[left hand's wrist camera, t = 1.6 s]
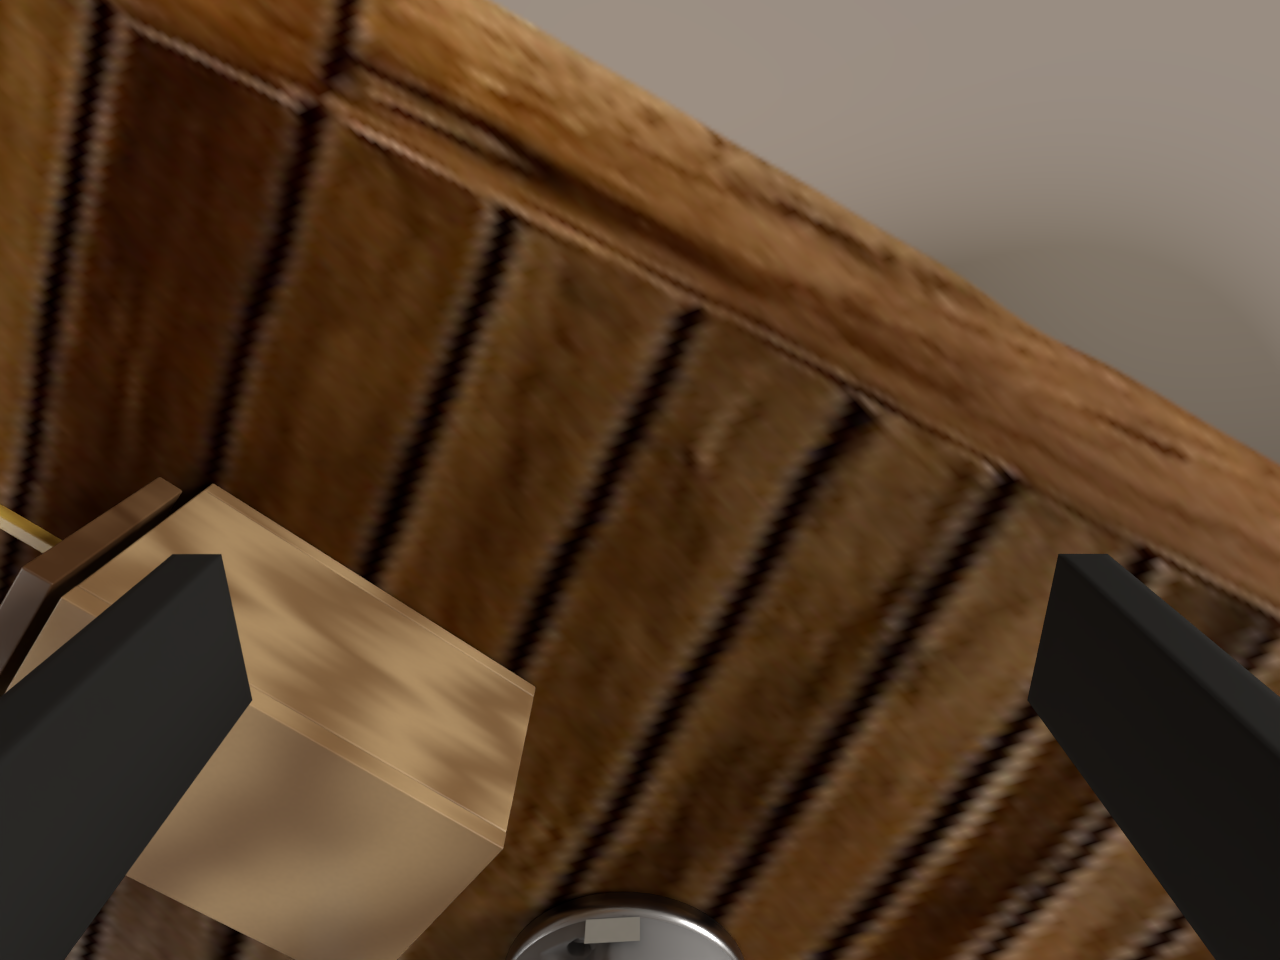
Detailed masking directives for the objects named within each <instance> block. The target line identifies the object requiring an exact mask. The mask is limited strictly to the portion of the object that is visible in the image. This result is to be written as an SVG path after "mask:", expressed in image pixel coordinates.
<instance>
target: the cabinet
mask: <svg viewBox="0 0 1280 960" xmlns="http://www.w3.org/2000/svg"><path fill="white" fill-rule="evenodd" d="M172 554H222V559H223V564H224V568H225V573H226V578H227V583H228V587H229V592H230V597H231V601H232V606H233V611H234V615H235V620H236V625H237V630H238V634H239V639H240V644H241V648H242V653H243V658H244V662H245V667H246V672H247V677H248V681H249V686H250V691H251V695H252V701H251V703H250V704H249V706H248V707H247V708H246V710H245V711H244V712H243V714H242V715H241V717H240V718H239V719H238V721H237V722H236V724H235V725H234V726H233V728H232V729H231V730H230V732H229V733H228V735H227V736H226V737H225V739H224V740H223V741H222V743H221V744H220V746H219V747H218V748H217V750H216V751H215V752H214V754H213V755H212V757H211V758H210V759H209V761H208V762H207V764H206V765H205V766H204V768H203V769H202V770H201V772H200V773H199V775H198V776H197V777H196V779H195V780H194V781H193V783H192V784H191V786H190V787H189V788H188V790H187V791H186V792H185V794H184V795H183V797H182V798H181V799H180V801H179V802H178V803H177V805H176V806H175V808H174V809H173V810H172V812H171V813H170V815H169V816H168V817H167V819H166V820H165V821H164V823H163V824H162V826H161V827H160V828H159V830H158V831H157V832H156V834H155V835H154V837H153V838H152V839H151V841H150V842H149V843H148V845H147V846H146V848H145V849H144V850H143V852H142V853H141V855H140V856H139V857H138V859H137V860H136V861H135V863H134V864H133V866H132V867H131V868H130V870H129V871H128V872H127V874H126V876H128V877H130V878H132V879H134V880H136V881H138V882H140V883H142V884H144V885H146V886H148V887H150V888H152V889H154V890H156V891H158V892H160V893H162V894H164V895H166V896H168V897H170V898H172V899H174V900H176V901H178V902H180V903H182V904H184V905H186V906H188V907H190V908H192V909H194V910H196V911H198V912H200V913H202V914H204V915H206V916H208V917H210V918H212V919H214V920H216V921H218V922H221V923H223V924H225V925H227V926H229V927H231V928H233V929H235V930H237V931H239V932H241V933H243V934H245V935H247V936H249V937H251V938H253V939H255V940H257V941H259V942H261V943H263V944H265V945H267V946H269V947H271V948H273V949H275V950H277V951H279V952H281V953H283V954H285V955H287V956H289V957H291V958H293V959H295V960H397V959H398V958H399V957H400V956H401V955H402V954H403V953H404V952H405V951H406V950H407V949H408V947H409V946H410V945H411V944H412V943H413V942H414V941H415V940H416V939H417V938H418V937H419V936H420V935H421V934H422V933H423V932H424V931H425V930H426V929H427V928H428V927H429V926H430V924H431V923H432V922H433V921H434V920H435V919H436V918H437V917H438V916H439V915H440V914H441V913H442V912H443V911H444V910H445V909H446V908H447V907H448V906H449V905H450V904H451V903H452V901H453V900H454V899H455V898H456V897H457V896H458V895H459V894H460V893H461V892H462V891H463V890H464V889H465V888H466V887H467V886H468V885H469V884H470V883H471V882H472V881H473V880H474V878H475V877H476V876H477V875H478V874H479V873H480V872H481V871H482V870H483V869H484V868H485V867H486V866H487V865H488V864H489V863H490V862H491V861H492V860H493V859H494V858H495V857H496V855H497V854H498V853H499V852H500V851H501V850H502V849H503V846H504V841H505V836H506V830H507V825H508V820H509V815H510V810H511V805H512V800H513V795H514V791H515V786H516V781H517V776H518V771H519V766H520V761H521V756H522V751H523V747H524V742H525V737H526V732H527V727H528V722H529V717H530V712H531V707H532V703H533V697H534V693H535V686H533V685H532V684H530V683H528V682H527V681H525V680H524V679H522V678H520V677H519V676H517V675H516V674H514V673H513V672H511V671H509V670H508V669H506V668H505V667H503V666H501V665H500V664H498V663H497V662H495V661H494V660H492V659H490V658H489V657H487V656H486V655H484V654H482V653H481V652H479V651H478V650H476V649H475V648H473V647H471V646H470V645H468V644H467V643H465V642H464V641H462V640H460V639H459V638H457V637H456V636H454V635H452V634H451V633H449V632H448V631H446V630H445V629H443V628H441V627H440V626H438V625H437V624H435V623H433V622H432V621H430V620H429V619H427V618H426V617H424V616H422V615H421V614H419V613H418V612H416V611H414V610H413V609H411V608H410V607H408V606H407V605H405V604H403V603H402V602H400V601H399V600H397V599H395V598H394V597H392V596H391V595H389V594H388V593H386V592H384V591H383V590H381V589H380V588H378V587H376V586H375V585H373V584H372V583H370V582H369V581H367V580H365V579H364V578H362V577H361V576H359V575H357V574H356V573H354V572H353V571H351V570H350V569H348V568H346V567H345V566H343V565H342V564H340V563H339V562H337V561H335V560H334V559H332V558H331V557H329V556H327V555H326V554H324V553H323V552H321V551H320V550H318V549H316V548H315V547H313V546H312V545H310V544H308V543H307V542H305V541H304V540H302V539H301V538H299V537H297V536H296V535H294V534H293V533H291V532H289V531H288V530H286V529H285V528H283V527H282V526H280V525H278V524H277V523H275V522H274V521H272V520H270V519H269V518H267V517H266V516H264V515H263V514H261V513H259V512H258V511H256V510H255V509H253V508H251V507H250V506H248V505H247V504H245V503H244V502H242V501H240V500H239V499H237V498H236V497H234V496H232V495H231V494H229V493H228V492H226V491H225V490H223V489H221V488H220V487H218V486H217V485H215V484H211V485H210V486H209V487H207V488H206V489H205V490H204V491H202V492H201V493H199V494H198V495H197V496H195V497H194V498H193V499H191V500H190V501H189V502H187V503H186V504H185V505H183V506H182V507H181V508H179V509H178V510H177V511H175V512H174V513H173V514H171V515H170V516H169V517H167V518H166V519H165V520H163V521H162V522H161V523H159V524H158V525H157V526H155V527H154V528H153V529H151V530H150V531H149V532H148V533H146V534H145V535H144V536H142V537H141V538H140V539H138V540H137V541H136V542H134V543H133V544H132V545H130V546H129V547H128V548H126V549H125V550H124V551H122V552H121V553H120V554H118V555H117V556H116V557H114V558H113V559H112V560H110V561H109V562H108V563H106V564H105V565H104V566H102V567H101V568H100V569H98V570H97V571H96V572H94V573H93V574H92V575H90V576H89V577H88V578H87V579H85V580H84V581H83V582H81V583H80V584H79V585H77V586H75V587H74V588H73V589H71V590H70V591H69V592H67V593H66V594H65V595H63V596H62V597H61V598H60V600H59V602H58V603H57V605H56V607H55V609H54V610H53V612H52V614H51V615H50V617H49V619H48V620H47V622H46V624H45V626H44V627H43V629H42V631H41V632H40V634H39V636H38V637H37V639H36V641H35V642H34V644H33V646H32V648H31V649H30V651H29V653H28V654H27V656H26V658H25V659H24V661H23V663H22V665H21V666H20V668H19V670H18V671H17V673H16V675H15V676H14V678H13V680H12V682H11V683H10V685H9V687H8V688H7V690H6V692H7V691H8V690H9V689H11V688H12V687H13V686H14V685H16V684H17V683H18V682H19V681H20V680H22V679H23V678H24V677H25V676H26V675H28V674H29V673H30V672H31V671H32V670H34V669H35V668H36V667H37V666H38V665H40V664H41V663H42V662H43V661H44V660H46V659H47V658H48V657H49V656H50V655H52V654H53V653H54V652H55V651H56V650H58V649H59V648H60V647H61V646H62V645H64V644H65V643H66V642H67V641H68V640H70V639H71V638H72V637H73V636H74V635H76V634H77V633H78V632H79V631H81V630H82V629H83V628H84V627H85V626H87V625H88V624H89V623H90V622H91V621H93V620H94V619H95V618H96V617H97V616H99V615H100V614H101V613H102V612H103V611H105V610H106V609H107V608H108V607H109V606H111V605H112V604H113V603H114V602H115V601H117V600H118V599H119V598H120V597H121V596H123V595H124V594H125V593H126V592H127V591H129V590H130V589H131V588H132V587H133V586H135V585H136V584H137V583H138V582H140V581H141V580H142V579H143V578H144V577H146V576H147V575H148V574H149V573H150V572H152V571H153V570H154V569H155V568H156V567H158V566H159V565H160V564H161V563H162V562H164V561H165V560H166V559H167V558H168V557H170V556H171V555H172ZM6 692H5V693H6ZM5 693H4V694H5Z"/></svg>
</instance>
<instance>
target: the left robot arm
mask: <svg viewBox="0 0 1280 960" xmlns="http://www.w3.org/2000/svg"><path fill="white" fill-rule="evenodd" d="M251 701H252V695H251V691H250V686H249V681H248V677H247V672H246V667H245V662H244V658H243V653H242V648H241V644H240V639H239V634H238V630H237V625H236V620H235V615H234V611H233V606H232V601H231V597H230V592H229V587H228V583H227V578H226V573H225V568H224V564H223V559H222V554H172V555H171V556H170V557H168V558H167V559H166V560H165V561H164V562H162V563H161V564H160V565H159V566H158V567H156V568H155V569H154V570H153V571H152V572H150V573H149V574H148V575H147V576H146V577H144V578H143V579H142V580H141V581H140V582H138V583H137V584H136V585H135V586H133V587H132V588H131V589H130V590H129V591H127V592H126V593H125V594H124V595H123V596H121V597H120V598H119V599H118V600H117V601H115V602H114V603H113V604H112V605H111V606H109V607H108V608H107V609H106V610H105V611H103V612H102V613H101V614H100V615H99V616H97V617H96V618H95V619H94V620H93V621H91V622H90V623H89V624H88V625H87V626H85V627H84V628H83V629H82V630H81V631H79V632H78V633H77V634H76V635H74V636H73V637H72V638H71V639H70V640H68V641H67V642H66V643H65V644H64V645H62V646H61V647H60V648H59V649H58V650H56V651H55V652H54V653H53V654H52V655H50V656H49V657H48V658H47V659H46V660H44V661H43V662H42V663H41V664H40V665H38V666H37V667H36V668H35V669H34V670H32V671H31V672H30V673H29V674H28V675H26V676H25V677H24V678H23V679H22V680H20V681H19V682H18V683H17V684H16V685H14V686H13V687H12V688H11V689H9V690H8V691H7V692H6V693H5V694H3V695H2V696H1V697H0V960H64V959H65V958H66V957H67V955H68V954H69V952H70V951H71V950H72V948H73V947H74V946H75V944H76V943H77V941H78V940H79V939H80V937H81V936H82V934H83V933H84V932H85V930H86V929H87V928H88V926H89V925H90V923H91V922H92V921H93V919H94V918H95V917H96V915H97V914H98V912H99V911H100V910H101V908H102V907H103V906H104V904H105V903H106V901H107V900H108V899H109V897H110V896H111V895H112V893H113V892H114V890H115V889H116V888H117V886H118V885H119V883H120V882H121V881H122V879H123V878H124V877H125V875H126V874H127V872H128V871H129V870H130V868H131V867H132V866H133V864H134V863H135V861H136V860H137V859H138V857H139V856H140V855H141V853H142V852H143V850H144V849H145V848H146V846H147V845H148V843H149V842H150V841H151V839H152V838H153V837H154V835H155V834H156V832H157V831H158V830H159V828H160V827H161V826H162V824H163V823H164V821H165V820H166V819H167V817H168V816H169V815H170V813H171V812H172V810H173V809H174V808H175V806H176V805H177V803H178V802H179V801H180V799H181V798H182V797H183V795H184V794H185V792H186V791H187V790H188V788H189V787H190V786H191V784H192V783H193V781H194V780H195V779H196V777H197V776H198V775H199V773H200V772H201V770H202V769H203V768H204V766H205V765H206V764H207V762H208V761H209V759H210V758H211V757H212V755H213V754H214V752H215V751H216V750H217V748H218V747H219V746H220V744H221V743H222V741H223V740H224V739H225V737H226V736H227V735H228V733H229V732H230V730H231V729H232V728H233V726H234V725H235V724H236V722H237V721H238V719H239V718H240V717H241V715H242V714H243V712H244V711H245V710H246V708H247V707H248V706H249V704H250V703H251ZM1028 701H1029V703H1030V704H1031V706H1032V707H1033V708H1034V710H1035V711H1036V712H1037V714H1038V715H1039V717H1040V718H1041V719H1042V721H1043V722H1044V724H1045V725H1046V726H1047V728H1048V729H1049V730H1050V732H1051V733H1052V735H1053V736H1054V737H1055V739H1056V740H1057V741H1058V743H1059V744H1060V746H1061V747H1062V748H1063V750H1064V751H1065V752H1066V754H1067V755H1068V757H1069V758H1070V759H1071V761H1072V762H1073V764H1074V765H1075V766H1076V768H1077V769H1078V770H1079V772H1080V773H1081V775H1082V776H1083V777H1084V779H1085V780H1086V781H1087V783H1088V784H1089V786H1090V787H1091V788H1092V790H1093V791H1094V792H1095V794H1096V795H1097V797H1098V798H1099V799H1100V801H1101V802H1102V803H1103V805H1104V806H1105V808H1106V809H1107V810H1108V812H1109V813H1110V815H1111V816H1112V817H1113V819H1114V820H1115V821H1116V823H1117V824H1118V826H1119V827H1120V828H1121V830H1122V831H1123V832H1124V834H1125V835H1126V837H1127V838H1128V839H1129V841H1130V842H1131V843H1132V845H1133V846H1134V848H1135V849H1136V850H1137V852H1138V853H1139V855H1140V856H1141V857H1142V859H1143V860H1144V861H1145V863H1146V864H1147V866H1148V867H1149V868H1150V870H1151V871H1152V872H1153V874H1154V875H1155V877H1156V878H1157V879H1158V881H1159V882H1160V883H1161V885H1162V886H1163V888H1164V889H1165V890H1166V892H1167V893H1168V895H1169V896H1170V897H1171V899H1172V900H1173V901H1174V903H1175V904H1176V906H1177V907H1178V908H1179V910H1180V911H1181V912H1182V914H1183V915H1184V917H1185V918H1186V919H1187V921H1188V922H1189V923H1190V925H1191V926H1192V928H1193V929H1194V930H1195V932H1196V933H1197V934H1198V936H1199V937H1200V939H1201V940H1202V941H1203V943H1204V944H1205V946H1206V947H1207V948H1208V950H1209V951H1210V952H1211V954H1212V955H1213V957H1214V958H1215V959H1216V960H1280V697H1279V696H1278V695H1277V694H1275V693H1274V692H1273V691H1272V690H1271V689H1269V688H1268V687H1267V686H1266V685H1264V684H1263V683H1262V682H1261V681H1260V680H1258V679H1257V678H1256V677H1255V676H1254V675H1252V674H1251V673H1250V672H1249V671H1248V670H1246V669H1245V668H1244V667H1243V666H1242V665H1240V664H1239V663H1238V662H1237V661H1236V660H1234V659H1233V658H1232V657H1231V656H1230V655H1228V654H1227V653H1226V652H1225V651H1224V650H1222V649H1221V648H1220V647H1219V646H1218V645H1216V644H1215V643H1214V642H1213V641H1212V640H1210V639H1209V638H1208V637H1207V636H1205V635H1204V634H1203V633H1202V632H1201V631H1199V630H1198V629H1197V628H1196V627H1195V626H1193V625H1192V624H1191V623H1190V622H1189V621H1187V620H1186V619H1185V618H1184V617H1183V616H1181V615H1180V614H1179V613H1178V612H1177V611H1175V610H1174V609H1173V608H1172V607H1171V606H1169V605H1168V604H1167V603H1166V602H1165V601H1163V600H1162V599H1161V598H1160V597H1159V596H1157V595H1156V594H1155V593H1154V592H1153V591H1151V590H1150V589H1149V588H1148V587H1147V586H1145V585H1144V584H1143V583H1142V582H1140V581H1139V580H1138V579H1137V578H1136V577H1134V576H1133V575H1132V574H1131V573H1130V572H1128V571H1127V570H1126V569H1125V568H1124V567H1122V566H1121V565H1120V564H1119V563H1118V562H1116V561H1115V560H1114V559H1113V558H1112V557H1110V556H1109V555H1108V554H1058V559H1057V564H1056V568H1055V573H1054V578H1053V583H1052V587H1051V592H1050V597H1049V601H1048V606H1047V611H1046V615H1045V620H1044V625H1043V630H1042V634H1041V639H1040V644H1039V648H1038V653H1037V658H1036V662H1035V667H1034V672H1033V677H1032V681H1031V686H1030V691H1029V695H1028ZM506 960H744V959H743V956H742V953H741V951H740V949H739V947H738V945H737V944H736V942H735V940H734V939H733V938H732V937H731V935H730V934H729V933H728V932H727V931H726V930H725V929H724V928H723V927H722V926H721V925H720V924H719V923H718V922H716V921H715V920H714V919H713V918H711V917H710V916H708V915H707V914H705V913H703V912H702V911H700V910H698V909H696V908H694V907H692V906H690V905H687V904H685V903H683V902H680V901H677V900H674V899H671V898H667V897H663V896H658V895H653V894H647V893H638V892H610V893H601V894H594V895H589V896H585V897H581V898H577V899H574V900H571V901H568V902H565V903H563V904H560V905H558V906H556V907H554V908H552V909H550V910H548V911H546V912H545V913H543V914H541V915H540V916H539V917H537V918H536V919H534V920H533V921H532V922H531V923H530V924H528V925H527V926H526V927H525V928H524V929H523V930H522V931H521V932H520V934H519V935H518V936H517V938H516V939H515V940H514V942H513V944H512V946H511V947H510V949H509V952H508V954H507V957H506Z"/></svg>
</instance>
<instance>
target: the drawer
mask: <svg viewBox="0 0 1280 960" xmlns="http://www.w3.org/2000/svg"><path fill="white" fill-rule="evenodd" d="M181 493H182V490H180V489H179V488H177V487H176V486H174V485H172V484H171V483H169V482H168V481H166V480H164V479H163V478H161V477H158V478H156V479H155V480H153V481H152V482H150V483H149V484H147V485H146V486H144V487H143V488H141V489H140V490H138V491H137V492H135V493H134V494H132V495H131V496H129V497H128V498H126V499H125V500H123V501H121V502H120V503H118V504H117V505H115V506H114V507H112V508H111V509H109V510H108V511H106V512H105V513H103V514H102V515H100V516H99V517H97V518H96V519H94V520H93V521H91V522H90V523H88V524H86V525H85V526H83V527H82V528H80V529H79V530H77V531H76V532H74V533H73V534H71V535H70V536H68V537H67V538H65V539H64V540H61V539H59V538H57V537H56V536H54V535H52V534H51V533H49V532H47V531H45V530H44V529H42V528H40V527H39V526H37V525H35V524H34V523H32V522H30V521H28V520H27V519H25V518H23V517H22V516H20V515H18V514H16V513H15V512H13V511H11V510H10V509H8V508H6V507H5V506H3V505H1V504H0V529H2V530H4V531H5V532H7V533H9V534H11V535H12V536H14V537H16V538H17V539H19V540H21V541H23V542H24V543H26V544H28V545H30V546H31V547H33V548H35V549H36V550H38V551H40V552H42V554H41V555H39V556H38V557H36V558H35V559H33V560H32V561H30V562H29V563H27V564H26V565H24V566H23V567H22V568H21V569H20V571H19V573H18V575H17V576H16V578H15V580H14V582H13V584H12V585H11V587H10V589H9V591H8V593H7V594H6V596H5V598H4V600H3V602H2V603H1V605H0V697H1V696H2V695H3V694H4V693H5V692H6V690H7V688H8V687H9V685H10V683H11V682H12V680H13V678H14V676H15V675H16V673H17V671H18V670H19V668H20V666H21V665H22V663H23V661H24V659H25V658H26V656H27V654H28V653H29V651H30V649H31V648H32V646H33V644H34V642H35V641H36V639H37V637H38V636H39V634H40V632H41V631H42V629H43V627H44V626H45V624H46V622H47V620H48V619H49V617H50V615H51V614H52V612H53V610H54V609H55V607H56V605H57V603H58V602H59V600H60V598H61V597H62V596H63V595H65V594H66V593H67V592H69V591H70V590H71V589H73V588H74V587H75V586H77V585H79V584H80V583H81V582H83V581H84V580H85V579H87V578H88V577H89V576H90V575H92V574H93V573H94V572H96V571H97V570H98V569H100V568H101V567H102V566H104V565H105V564H106V563H108V562H109V561H110V560H112V559H113V558H114V557H116V556H117V555H118V554H120V553H121V552H122V551H124V550H125V549H126V548H128V547H129V546H130V545H132V544H133V543H134V542H136V541H137V540H138V539H140V538H141V537H142V536H144V535H145V534H146V533H148V532H149V531H150V530H151V529H153V528H154V527H155V526H157V525H158V524H159V523H161V522H162V521H163V520H165V519H166V517H167V515H168V514H169V512H170V511H171V509H172V507H173V506H174V504H175V503H176V501H177V499H178V498H179V496H180V494H181Z"/></svg>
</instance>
